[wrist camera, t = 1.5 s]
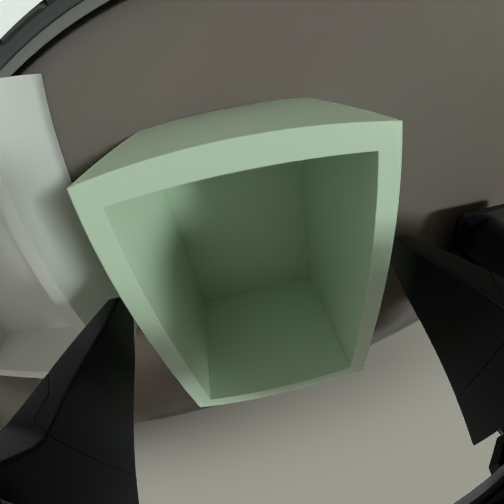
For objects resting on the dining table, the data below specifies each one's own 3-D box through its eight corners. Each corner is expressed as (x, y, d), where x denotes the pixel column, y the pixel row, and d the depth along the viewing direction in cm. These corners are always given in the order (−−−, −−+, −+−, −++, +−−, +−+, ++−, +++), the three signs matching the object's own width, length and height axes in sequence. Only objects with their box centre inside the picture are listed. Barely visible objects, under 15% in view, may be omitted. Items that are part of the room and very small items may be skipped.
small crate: (305, 97, 9) (402, 120, 4) (317, 276, 14) (362, 369, 10) (137, 131, 9) (66, 188, 4) (197, 302, 14) (200, 407, 9)
